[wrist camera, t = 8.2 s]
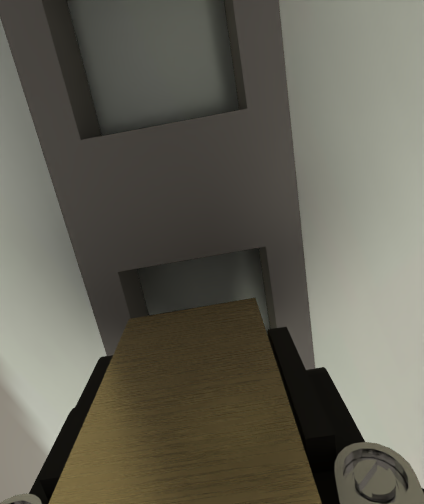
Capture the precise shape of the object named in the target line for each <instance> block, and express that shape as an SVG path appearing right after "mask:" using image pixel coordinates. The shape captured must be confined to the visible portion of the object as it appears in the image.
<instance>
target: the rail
mask: <svg viewBox="0 0 424 504" xmlns="http://www.w3.org/2000/svg"><path fill="white" fill-rule="evenodd" d="M224 5H225V12H226V19H227V26H228V33H229V40H230V47H231V54H232V61H233V68H234V75H235V83H236V90H237V97H238V104H239V110H237V111H232V112H226V113H221V114H216V115H210V116H205V117H200V118H194V119H189V120H184V121H179V122H173V123H168V124H163V125H157V126H152V127H147V128H141V129H136V130H131V131H125V132H120V133H115V134H110V135H104V136H102V135H101V131H100V127H99V124H98V120H97V116H96V112H95V108H94V104H93V101H92V97H91V93H90V89H89V85H88V81H87V78H86V74H85V70H84V66H83V62H82V58H81V55H80V51H79V47H78V43H77V39H76V35H75V32H74V28H73V24H72V20H71V16H70V12H69V9H68V5H67V1H66V0H0V18H1V21H2V24H3V27H4V30H5V34H6V37H7V40H8V43H9V46H10V49H11V53H12V56H13V59H14V62H15V65H16V68H17V72H18V75H19V78H20V81H21V84H22V87H23V91H24V94H25V97H26V100H27V103H28V107H29V110H30V113H31V116H32V119H33V122H34V126H35V129H36V132H37V135H38V138H39V141H40V145H41V148H42V151H43V154H44V157H45V160H46V164H47V167H48V170H49V173H50V176H51V179H52V183H53V186H54V189H55V192H56V195H57V198H58V202H59V205H60V208H61V211H62V214H63V218H64V221H65V224H66V227H67V230H68V233H69V237H70V240H71V243H72V246H73V249H74V252H75V256H76V259H77V262H78V265H79V268H80V271H81V275H82V278H83V281H84V284H85V287H86V290H87V294H88V297H89V300H90V303H91V306H92V309H93V313H94V316H95V319H96V322H97V325H98V329H99V332H100V335H101V338H102V341H103V344H104V348H105V351H106V354H107V356H111V355H114V352H115V350H116V348H117V345H118V343H119V341H120V339H121V336H122V334H123V332H124V329H125V327H126V325H127V323H128V320H129V319H132V318H138V317H144V316H149V315H148V311H147V307H146V304H145V300H144V296H143V292H142V288H141V284H140V281H139V277H138V273H137V269H138V268H144V267H150V266H155V265H161V264H167V263H173V262H178V261H184V260H190V259H196V258H202V257H207V256H213V255H219V254H225V253H231V252H236V251H242V250H248V249H254V248H259V253H260V260H261V267H262V274H263V281H264V288H265V295H266V302H267V309H268V317H269V324H270V329H274V328H280V327H287V329H288V331H289V333H290V335H291V338H292V340H293V342H294V344H295V347H296V349H297V351H298V353H299V356H300V358H301V360H302V362H303V365H304V367H305V369H306V370H309V369H315V362H314V352H313V342H312V332H311V322H310V312H309V302H308V292H307V282H306V272H305V262H304V251H303V241H302V231H301V221H300V211H299V201H298V191H297V181H296V171H295V161H294V151H293V141H292V131H291V121H290V111H289V101H288V91H287V80H286V70H285V60H284V50H283V40H282V30H281V20H280V10H279V0H224Z"/></svg>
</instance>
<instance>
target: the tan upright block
mask: <svg viewBox="0 0 424 504" xmlns="http://www.w3.org/2000/svg"><path fill="white" fill-rule="evenodd" d="M48 504H322V502H321V499H320V496H319V493H318V490H317V487H316V484H315V481H314V478H313V475H312V472H311V468H310V465H309V462H308V459H307V456H306V453H305V450H304V447H303V444H302V441H301V438H300V434H299V431H298V428H297V425H296V422H295V419H294V416H293V413H292V410H291V407H290V404H289V401H288V397H287V394H286V391H285V388H284V385H283V382H282V379H281V376H280V373H279V370H278V367H277V363H276V360H275V357H274V354H273V351H272V348H271V345H270V342H269V339H268V336H267V333H266V329H265V326H264V323H263V320H262V317H261V314H260V311H259V308H258V305H257V302H256V299H255V298H251V299H245V300H239V301H233V302H227V303H221V304H215V305H209V306H203V307H197V308H191V309H185V310H179V311H173V312H167V313H161V314H156V315H150V316H144V317H138V318H132V319H129V320H128V323H127V325H126V327H125V329H124V332H123V334H122V336H121V339H120V341H119V343H118V345H117V348H116V350H115V352H114V355H113V357H112V359H111V361H110V364H109V366H108V368H107V371H106V373H105V375H104V378H103V380H102V382H101V384H100V387H99V389H98V391H97V394H96V396H95V398H94V400H93V403H92V405H91V407H90V410H89V412H88V414H87V416H86V419H85V421H84V423H83V426H82V428H81V430H80V432H79V435H78V437H77V439H76V442H75V444H74V446H73V449H72V451H71V453H70V455H69V458H68V460H67V462H66V465H65V467H64V469H63V471H62V474H61V476H60V478H59V481H58V483H57V485H56V487H55V490H54V492H53V494H52V497H51V499H50V501H49V503H48Z"/></svg>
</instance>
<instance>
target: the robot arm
mask: <svg viewBox="0 0 424 504" xmlns="http://www.w3.org/2000/svg"><path fill="white" fill-rule="evenodd" d="M267 336H268V339H269V342H270V345H271V348H272V351H273V354H274V357H275V360H276V363H277V367H278V370H279V373H280V376H281V379H282V382H283V385H284V388H285V391H286V394H287V397H288V401H289V404H290V407H291V410H292V413H293V416H294V419H295V422H296V425H297V428H298V431H299V434H300V438H301V441H302V444H303V447H304V450H305V453H306V456H307V459H308V462H309V465H310V468H311V472H312V475H313V478H314V481H315V484H316V487H317V490H318V493H319V496H320V499H321V502H322V504H424V489H422V488H421V486H420V483H419V481H418V478H417V476H416V474H415V472H414V471H413V469H412V467H411V466H410V464H409V463H408V462H407V461H406V460H405V459H404V458H403V457H402V456H401V455H400V454H398V453H397V452H395V451H393V450H392V449H390V448H388V447H385V446H383V445H380V444H377V443H369V442H365V441H364V439H363V437H362V435H361V433H360V432H359V430H358V428H357V426H356V424H355V422H354V420H353V418H352V417H351V415H350V413H349V411H348V409H347V407H346V405H345V403H344V402H343V400H342V398H341V396H340V394H339V392H338V390H337V389H336V387H335V385H334V383H333V381H332V379H331V377H330V375H329V374H328V372H327V370H326V369H325V368H324V367H322V368H316V369H309V370H306V369H305V367H304V365H303V362H302V360H301V358H300V356H299V353H298V351H297V349H296V347H295V344H294V342H293V340H292V338H291V335H290V333H289V331H288V329H287V327H280V328H274V329H268V335H267ZM112 357H113V355H111V356H105V357H101V358H100V359H99V360H98V362H97V364H96V366H95V368H94V370H93V372H92V374H91V376H90V379H89V381H88V383H87V385H86V387H85V389H84V391H83V393H82V395H81V397H80V399H79V401H78V403H77V405H76V407H75V408H73V409H72V410H71V412H70V413H69V415H68V417H67V419H66V421H65V423H64V425H63V427H62V429H61V431H60V433H59V435H58V437H57V439H56V441H55V443H54V445H53V447H52V449H51V451H50V453H49V455H48V457H47V459H46V461H45V463H44V465H43V467H42V469H41V471H40V473H39V475H38V477H37V479H36V481H35V483H34V485H33V487H32V489H31V491H30V492H29V494H27V493H26V494H20V495H15V496H13V497H11V498H8V499H6V500H4V501H3V502H1V503H0V504H48V503H49V501H50V499H51V497H52V494H53V492H54V490H55V487H56V485H57V483H58V481H59V478H60V476H61V474H62V471H63V469H64V467H65V465H66V462H67V460H68V458H69V455H70V453H71V451H72V449H73V446H74V444H75V442H76V439H77V437H78V435H79V432H80V430H81V428H82V426H83V423H84V421H85V419H86V416H87V414H88V412H89V410H90V407H91V405H92V403H93V400H94V398H95V396H96V394H97V391H98V389H99V387H100V384H101V382H102V380H103V378H104V375H105V373H106V371H107V368H108V366H109V364H110V361H111V359H112Z"/></svg>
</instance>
